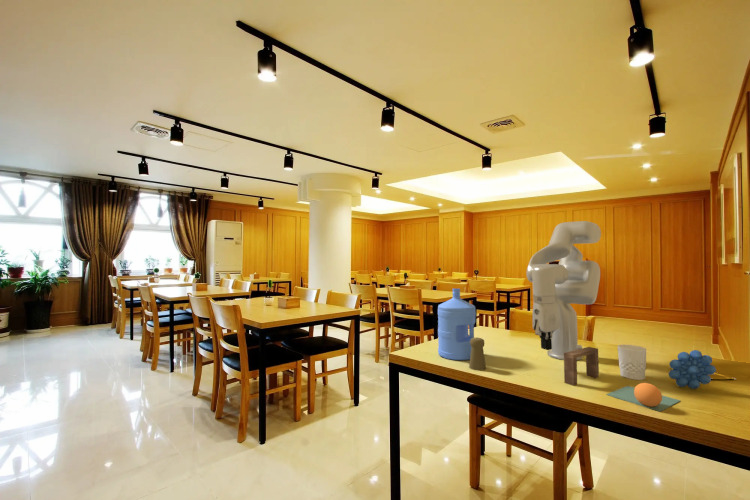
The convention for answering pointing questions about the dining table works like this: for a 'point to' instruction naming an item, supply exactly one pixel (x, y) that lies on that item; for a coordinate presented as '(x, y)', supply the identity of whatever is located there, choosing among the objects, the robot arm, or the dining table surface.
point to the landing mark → (629, 396)
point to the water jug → (455, 327)
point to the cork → (477, 354)
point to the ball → (648, 394)
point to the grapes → (691, 369)
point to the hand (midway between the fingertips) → (546, 348)
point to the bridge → (571, 364)
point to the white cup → (632, 361)
